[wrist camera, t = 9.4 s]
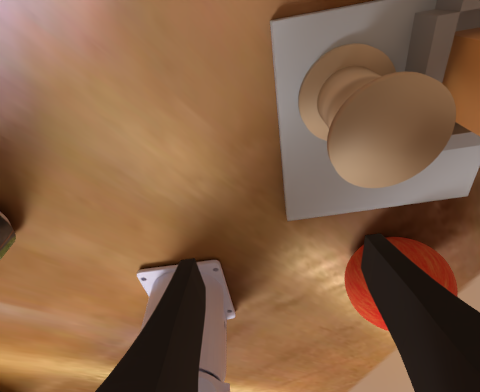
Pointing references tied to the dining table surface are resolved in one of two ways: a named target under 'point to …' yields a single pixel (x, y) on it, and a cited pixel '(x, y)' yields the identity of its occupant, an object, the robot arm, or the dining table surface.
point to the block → (465, 78)
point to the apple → (417, 254)
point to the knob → (375, 115)
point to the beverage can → (5, 235)
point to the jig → (404, 59)
